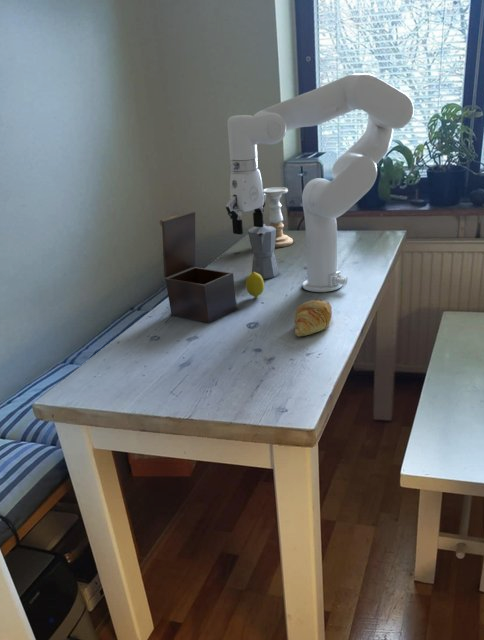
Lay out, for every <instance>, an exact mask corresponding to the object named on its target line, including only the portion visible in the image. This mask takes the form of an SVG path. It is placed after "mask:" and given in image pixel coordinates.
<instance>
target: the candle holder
mask: <svg viewBox="0 0 484 640" xmlns="http://www.w3.org/2000/svg"><path fill="white" fill-rule="evenodd" d="M288 192H289V188H288V187H283V186H274V187H267V188H263V193H264V194H266V196H267V197H268V199H269V200H270V203H269V204H268V208H269V209H270V212H269V217H268V221H269V222H270V224H269V225H268V226H270V227H274V228H275V229H276V237H275V248H285V247H288V246H291V245H292V244H293V243H294V240H293V238H292V237H290V236H288V235H287V234H284V233H283V232H284V231H283V229H284V227H285V224H284V223H283V221H284V217H283V214H282V210H281V208H282V206H283V205H282V203H281V201H280V199H281V198H282V196H283V195H284V194H287V193H288Z"/></svg>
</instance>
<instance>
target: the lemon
mask: <svg viewBox="0 0 484 640" xmlns="http://www.w3.org/2000/svg"><path fill="white" fill-rule="evenodd" d="M245 289H246V291H247V293H248V294H249V295H250V296H252V297H254V298H256V299H257V298H258V297H259V296H261V294H262V293H263V292H264V289H265V282H264V279H263V278H262V277H261V275H260V274H258V273H255V272H253V273H252V272H251V273H249V275H248V276H247V277H246V279H245Z"/></svg>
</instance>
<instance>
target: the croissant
mask: <svg viewBox="0 0 484 640" xmlns="http://www.w3.org/2000/svg"><path fill="white" fill-rule="evenodd" d="M332 311H333V310H332V305H331V304H330V302H328V301H323V300H322V299H313V300H312V299H311V300H308V301H305V302H303V303H302V304H300V305H299V306H298V307H297V308H296V310H295V312H294V328H295V329H294V335H295V336H297V337H306V336H310V335H313V334H315V333H318V332H321V331H323V330H326V329H328V327H329V325H330V323H331V320H332V315H333V312H332Z"/></svg>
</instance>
